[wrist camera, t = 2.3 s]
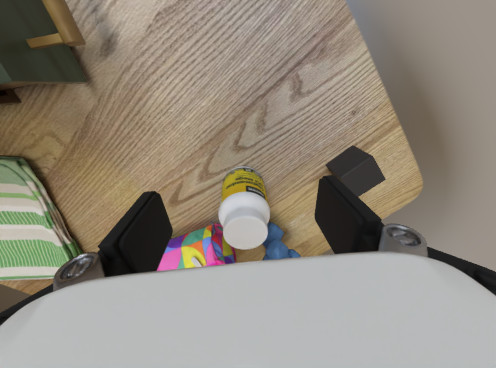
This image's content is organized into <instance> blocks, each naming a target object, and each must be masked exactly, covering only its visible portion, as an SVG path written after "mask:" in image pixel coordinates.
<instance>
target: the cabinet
mask: <svg viewBox="0 0 496 368" xmlns="http://www.w3.org/2000/svg"><path fill="white" fill-rule="evenodd" d="M20 102H21V101H20V99H19V98H18V97H17V95H16V94H15V92H14V91H13V90H12V88H10V89H5V90H0V106H5V105H10V104H15V103H20Z"/></svg>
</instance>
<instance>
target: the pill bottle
mask: <svg viewBox="0 0 496 368" xmlns="http://www.w3.org/2000/svg"><path fill="white" fill-rule="evenodd" d="M269 219H270V207H269V203H268V199H267V195H266V191H265V187H264V183H263V180H262V177H261V175H260V174H259V173H258V172H257V171H256V170H255V169H253V168H250V167H246V166H240V167H236V168H233V169H232V170H230V171H229V172H228V173H227V174H226V176H225V178H224V181H223V186H222V193H221V199H220V206H219V220H220V223H221V225H222V226H223V236H224V239H225V241H226V242H227V243H228V244H229V245H230V246H232V247H234V248H237V249H252V248H255V247H257V246H259V245H261V244H262V243H263V242H264V241H265V240H266V238H267V235H268V228H267V224H268V222H269Z"/></svg>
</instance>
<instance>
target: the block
mask: <svg viewBox="0 0 496 368" xmlns="http://www.w3.org/2000/svg"><path fill="white" fill-rule="evenodd" d="M326 166H327V167H328V169H329V170H330V171H331V173H332V174H333V175H334V176H336V177H337V178H338V179H339V180H340V181H341V182H342V183H343V184H344V185H345V186H346V187H347V188H349V189H350V190H351V191H352V192H353V193H354V194H355V195H356V196H357V197H359V196H360V195H362V194H363V193H365V192H367V191H368V190H370V189H371V188H373V187H375V186H376V185H378V184H379V183H381V182H382V181H384V180H385V177H384V176H383V174H382V172H381V170H380V168H379V167H378V165H377V163H376V161H375V159H374V158H373V156H372V155H370V154H368V153H366V152H364V151H362V150H360V149H358V148H357V147H355V146H351V147H350V148H348V149H347V150H345V151H344V152H343V153H341V154H340V155H339V156H337V157H336V158H334V159H333V160H332V161H330V162H329V163H327V164H326Z"/></svg>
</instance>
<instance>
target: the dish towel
mask: <svg viewBox="0 0 496 368" xmlns="http://www.w3.org/2000/svg"><path fill="white" fill-rule="evenodd" d="M80 254H83V252H82V250H81V249H79V246H78V244H77V243H76V241H75V240H74V239H73V238H72V237H70V235H69V233H68V231H67V229H66V227H65V225H64V222H63V219H62V217H61V215H60V213H59V212H58V210H57V208H56V207H55V205H54V204H53V202H52V201H51V199H50V197H49V196H48V194H47V192H46V190H45V188H44V186H43V185H42V183H41V182H40V181H39V179H38V178H37V177H36V176H35V174H34V171H33V170H32V169H31V168H30V166H29V164H28V163H27V162H26V161H25V160H24V159H23V158H19V157H2V156H0V281H2V280H28V279H54V275H55V273H56V272H57V270H58V269H59V268H60V267H61V266H62V265H63V264H65V263H66V262H67V261H69V260H70V259H72V258H74V257H76V256H78V255H80Z"/></svg>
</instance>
